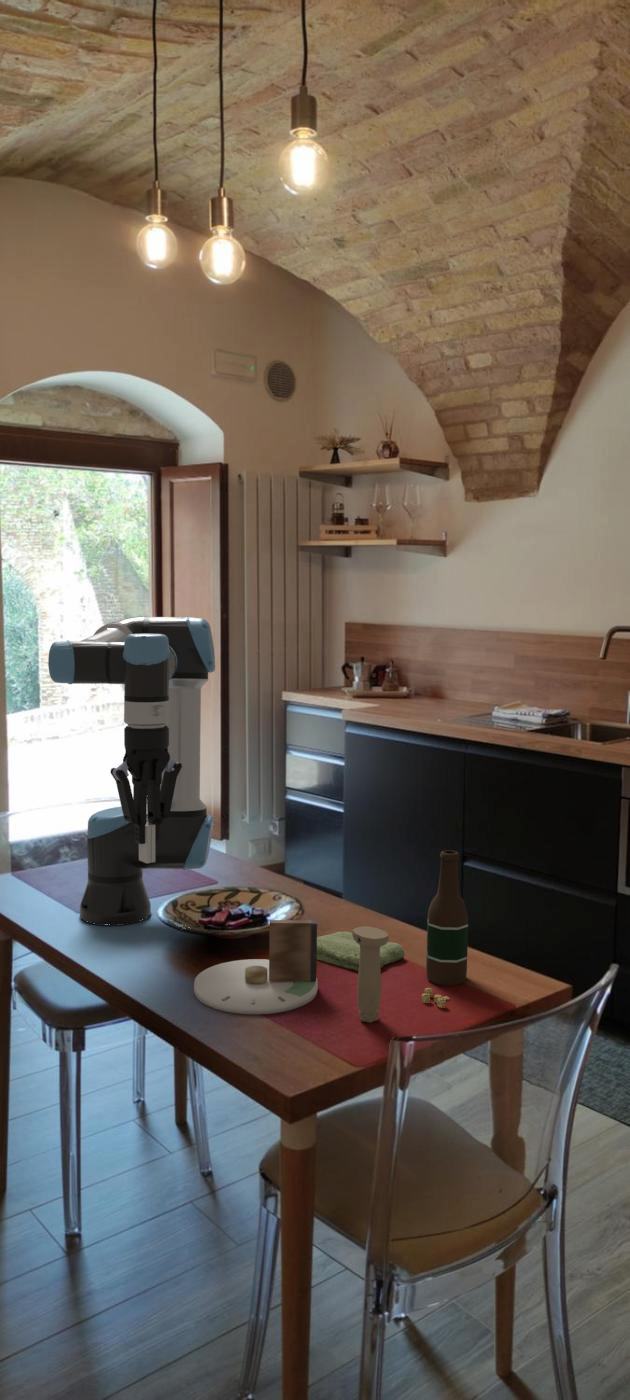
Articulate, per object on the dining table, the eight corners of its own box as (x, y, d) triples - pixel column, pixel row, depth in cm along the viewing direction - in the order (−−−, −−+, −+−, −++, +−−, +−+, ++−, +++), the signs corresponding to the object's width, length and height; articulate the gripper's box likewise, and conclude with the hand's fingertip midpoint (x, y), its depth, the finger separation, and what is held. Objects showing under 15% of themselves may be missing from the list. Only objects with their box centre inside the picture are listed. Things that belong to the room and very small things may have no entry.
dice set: (443, 1013, 181) (444, 1002, 181) (416, 1007, 183) (416, 996, 183) (453, 1002, 185) (454, 992, 185) (426, 997, 188) (426, 987, 187)
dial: (218, 961, 202) (219, 953, 202) (330, 974, 196) (330, 965, 196) (175, 1005, 181) (175, 996, 180) (298, 1021, 175) (298, 1011, 175)
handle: (367, 1009, 180) (368, 924, 178) (392, 1022, 175) (394, 935, 173) (345, 1016, 177) (346, 930, 176) (370, 1029, 172) (371, 940, 170)
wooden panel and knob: (244, 983, 186) (245, 925, 185) (245, 975, 190) (245, 917, 189) (316, 983, 187) (317, 925, 185) (315, 975, 191) (316, 918, 189)
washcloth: (337, 939, 217) (338, 924, 216) (408, 960, 205) (408, 944, 205) (295, 956, 207) (295, 940, 206) (367, 978, 195) (367, 962, 195)
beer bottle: (417, 973, 197) (421, 848, 194) (454, 969, 200) (458, 845, 197) (436, 989, 190) (440, 858, 187) (474, 983, 193) (479, 855, 190)
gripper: (123, 730, 172) (124, 872, 174) (191, 724, 180) (191, 859, 183) (101, 725, 177) (102, 862, 180) (167, 719, 186) (168, 850, 188)
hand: (147, 860), depth 181 cm, fingers closed
